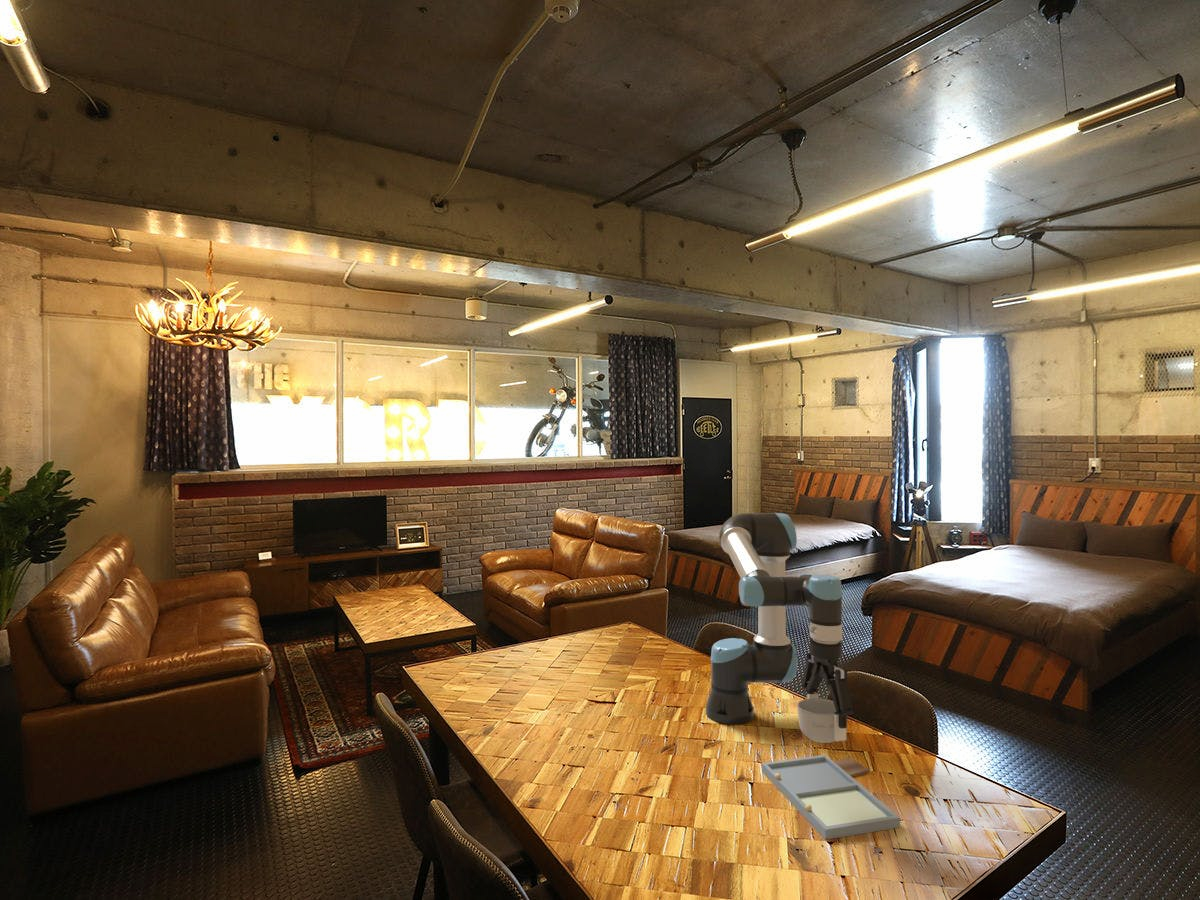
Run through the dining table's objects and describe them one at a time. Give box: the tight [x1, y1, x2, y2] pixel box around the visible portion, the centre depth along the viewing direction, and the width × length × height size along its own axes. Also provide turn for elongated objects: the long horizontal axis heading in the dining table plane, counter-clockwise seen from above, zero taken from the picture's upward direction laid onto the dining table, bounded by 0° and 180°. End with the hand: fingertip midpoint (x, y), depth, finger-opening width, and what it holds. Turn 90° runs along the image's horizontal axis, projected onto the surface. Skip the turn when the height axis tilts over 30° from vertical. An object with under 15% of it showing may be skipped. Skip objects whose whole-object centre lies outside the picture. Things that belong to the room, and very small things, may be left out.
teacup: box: [796, 698, 836, 744], centre depth 151 cm, size 14×11×8 cm
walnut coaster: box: [833, 757, 870, 778], centre depth 165 cm, size 7×7×1 cm
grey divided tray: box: [761, 754, 901, 840], centre depth 151 cm, size 29×19×3 cm, turn 13°
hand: (826, 729), depth 151 cm, fingers closed on teacup, 11 cm apart
